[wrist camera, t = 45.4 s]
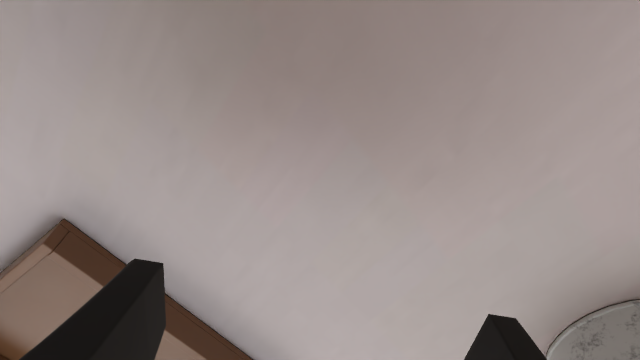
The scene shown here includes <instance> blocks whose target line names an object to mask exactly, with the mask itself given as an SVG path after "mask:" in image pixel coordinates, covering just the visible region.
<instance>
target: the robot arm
mask: <svg viewBox="0 0 640 360" xmlns="http://www.w3.org/2000/svg"><path fill="white" fill-rule="evenodd" d="M165 327H166V312H165V290H164V269H163V263H159V262H152V261H146V260H140V259H134V260H132V261H131V262H130V263H128V264H127V265H126V266H125V267H124V268H123V269H122V270H121V271H120V272H119V273H118V274H117V275H116V276H115V277H114V278H113V279H111V280H110V281H109V282H108V283H107V284H106V285H105V286H104V287H103V288H102V289H101V290H100V291H99V292H97V293H96V294H95V295H94V296H93V297H92V298H91V299H90V300H89V301H87V302H86V303H85V304H84V305H83V306H82V307H81V308H80V309H79V310H77V311H76V312H75V313H74V314H73V315H72V316H70V317H69V318H68V319H67V320H66V321H65V322H63V323H62V324H61V325H60V326H59V327H58V328H57V329H55V330H54V331H53V332H52V333H51V334H50V335H48V336H47V337H46V338H45V339H44V340H42V341H41V342H40V343H39V344H38V345H36V346H35V347H34V348H33V349H31V350H30V351H29V352H27V353H26V354H25V355H24V356H22V357H21V358H20V359H19V360H155V357H156V354H157V351H158V348H159V345H160V342H161V339H162V336H163V333H164V330H165ZM464 360H547V359H546V357H545V356H544V355H543V353H542V352H541V351H540V350H539V348H538V347H537V346H536V344H535V343H534V342H533V340H532V339H531V338H530V336H529V335H528V334H527V332H526V331H525V330H524V328H523V327H522V326H521V325H520V323H519V322H518V321H517V320H516V318H510V317H504V316H497V315H491V314H488V316H487V318H486V320H485V322H484V324H483V326H482V327H481V329H480V331H479V333H478V335H477V337H476V338H475V340H474V342H473V344H472V346H471V348H470V350H469V351H468V353H467V355H466V357H465V359H464Z"/></svg>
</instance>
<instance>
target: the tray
mask: <svg viewBox="0 0 640 360" xmlns="http://www.w3.org/2000/svg"><path fill="white" fill-rule="evenodd" d="M125 266H126V265H125V264H124V263H122V262H121V261H120V260H118V259H117V258H116V257H114V256H113V255H112V254H110V253H109V252H108V251H106V250H105V249H104V248H102V247H101V246H100V245H98V244H97V243H96V242H94V241H93V240H92V239H90V238H89V237H88V236H86V235H85V234H84V233H82V232H81V231H80V230H78V229H77V228H76V227H74V226H73V225H72V224H70V223H69V222H68V221H66V220H65V219H63V220H62V221H61V222H59V223H58V224H57V225H56V226H55V227H54V228H52V229H51V230H50V231H49V232H48V233H47V234H46V235H44V236H43V237H42V238H41V239H40V240H39V241H37V242H36V243H35V244H34V245H33V246H32V247H30V248H29V249H28V250H27V251H26V252H25V253H23V254H22V255H21V256H20V257H19V258H18V259H16V260H15V261H14V262H13V263H12V264H11V265H10V266H8V267H7V268H6V269H5V270H4V271H3V272H1V273H0V360H19V359H20V358H21V357H22V356H24V355H25V354H26V353H27V352H29V351H30V350H31V349H33V348H34V347H35V346H36V345H38V344H39V343H40V342H41V341H42V340H44V339H45V338H46V337H47V336H48V335H50V334H51V333H52V332H53V331H54V330H55V329H57V328H58V327H59V326H60V325H61V324H62V323H63V322H65V321H66V320H67V319H68V318H69V317H70V316H72V315H73V314H74V313H75V312H76V311H77V310H79V309H80V308H81V307H82V306H83V305H84V304H85V303H86V302H87V301H89V300H90V299H91V298H92V297H93V296H94V295H95V294H96V293H97V292H99V291H100V290H101V289H102V288H103V287H104V286H105V285H106V284H107V283H108V282H109V281H110V280H111V279H113V278H114V277H115V276H116V275H117V274H118V273H119V272H120V271H121V270H122V269H123V268H124V267H125ZM165 312H166V327H165V330H164V333H163V336H162V339H161V342H160V345H159V348H158V351H157V354H156V357H155V360H252V359H251V358H250V357H248V356H247V355H246V354H244V353H243V352H242V351H240V350H239V349H238V348H236V347H235V346H234V345H232V344H231V343H230V342H228V341H227V340H226V339H224V338H223V337H222V336H220V335H219V334H218V333H216V332H215V331H214V330H212V329H211V328H210V327H208V326H207V325H205V324H204V323H203V322H201V321H200V320H199V319H197V318H196V317H195V316H193V315H192V314H191V313H189V312H188V311H187V310H185V309H184V308H183V307H181V306H180V305H179V304H177V303H176V302H175V301H173V300H172V299H171V298H169V297H168V296H167V295H165Z"/></svg>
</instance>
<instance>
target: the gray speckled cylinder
mask: <svg viewBox="0 0 640 360" xmlns="http://www.w3.org/2000/svg"><path fill="white" fill-rule="evenodd" d="M546 359H547V360H640V300H634V301H629V302H625V303H621V304H617V305H613V306H609V307H607V308H604V309H602V310H599V311H597V312H594V313H592V314H589V315H587V316H586V317H584V318H582V319H581V320H579V321H577V322H575V323H574V324H572V325H571V326H570V327H568V328H567V329H566V330H565V331H564V332H562V333H561V334H560V335H559V336H558V337H557V338H556V340H555V341H554V342H553V344H552V345H551V346H550V348H549V350H548V353H547V355H546Z"/></svg>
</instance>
